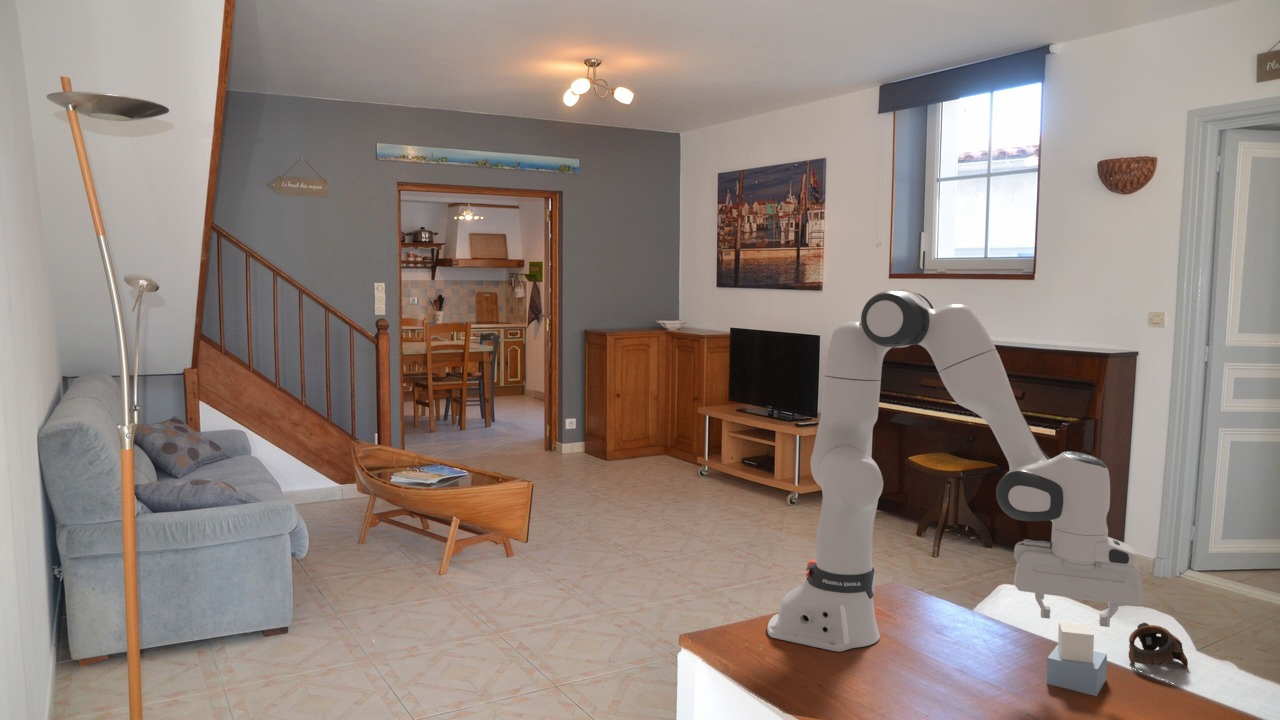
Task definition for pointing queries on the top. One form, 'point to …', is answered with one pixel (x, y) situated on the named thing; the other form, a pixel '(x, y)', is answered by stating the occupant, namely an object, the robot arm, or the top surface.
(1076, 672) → the slate block
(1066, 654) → the cream cube
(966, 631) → the top surface
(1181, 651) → the brown hollow ring shell
